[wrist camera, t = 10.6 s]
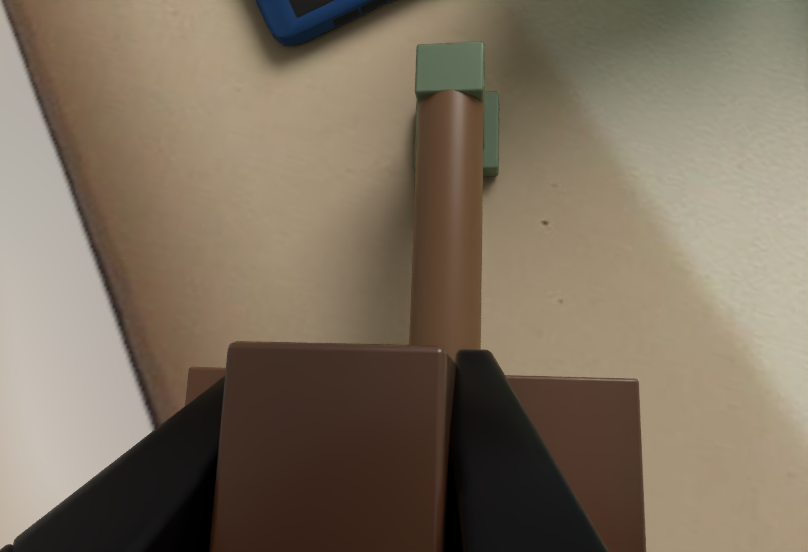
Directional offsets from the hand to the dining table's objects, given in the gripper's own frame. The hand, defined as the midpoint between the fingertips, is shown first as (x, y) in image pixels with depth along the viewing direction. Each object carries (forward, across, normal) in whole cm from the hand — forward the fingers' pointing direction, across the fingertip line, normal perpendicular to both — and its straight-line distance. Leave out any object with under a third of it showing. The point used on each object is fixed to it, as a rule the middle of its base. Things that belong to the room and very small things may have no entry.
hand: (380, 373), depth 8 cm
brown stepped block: (+4, 0, +6) cm, 7 cm away
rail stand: (+12, 0, +7) cm, 14 cm away
